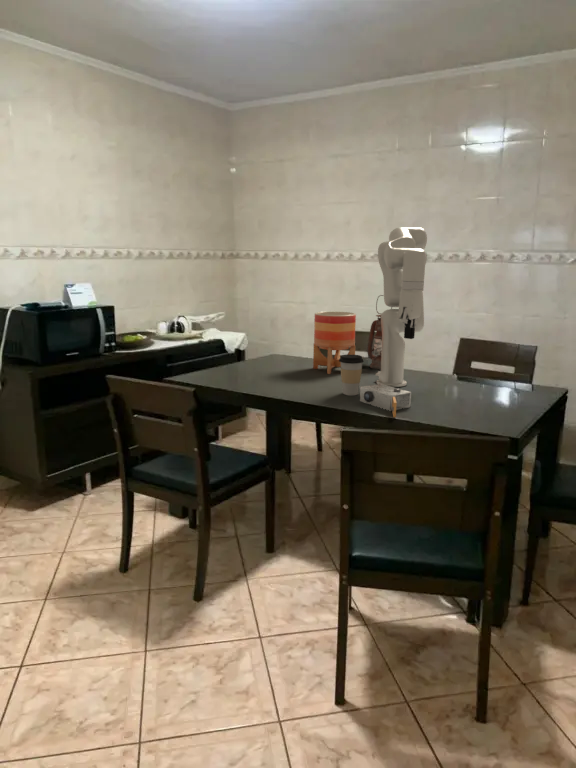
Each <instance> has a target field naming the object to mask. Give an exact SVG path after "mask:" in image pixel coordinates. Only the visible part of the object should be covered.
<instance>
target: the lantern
mask: <svg viewBox="0 0 576 768" xmlns="http://www.w3.org/2000/svg"><path fill="white" fill-rule="evenodd" d="M381 296H382V297H384V294H383V295H382V294H380V295H378V296H377V298H376V299H377V300H376V304H375V310H376V313H377V314H376V315H375V317H377V319H375V320H373V321H372V323H371V325H370V331H369V334H368V339H367V340H368V341H367V351H366V352H367V356H368V357H369V359H370V360H371V363H370V364H369V367H370V369H372V370H373V369H374V370H381V355H382V327H381V315H382V313H379V312H378V306H377V305H378V301H379V298H380V297H381ZM390 309H393V307H390ZM375 333H376V334H375ZM373 352H374V353H373Z"/></svg>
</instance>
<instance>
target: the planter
mask: <svg viewBox="0 0 576 768" xmlns="http://www.w3.org/2000/svg"><path fill="white" fill-rule="evenodd" d="M356 320H357V314H356V313H355V312H350V311H319V312H315V313H314V322H313V323H314V327H313V329H314V330H313V331H314V333H313V362H312V363H313V365H312V366H313V367H312V369H313V370H318V369H319V366H325V367H327V370H326V372H327V374H328V375H331V374H332V369H333V368H335V367H336V368H341V362H340V361H339V360H340V358H341V351H345V350H349V351H348V353H347V354H346V355H349V354H351V355H356V345H355V343H356V326H357V325H356ZM321 349H322V350H326V351H327V356H325V354H323V353H322V351H321ZM333 351H335V353H334V357H333Z"/></svg>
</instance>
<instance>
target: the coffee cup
mask: <svg viewBox="0 0 576 768" xmlns="http://www.w3.org/2000/svg"><path fill="white" fill-rule="evenodd" d="M339 361H340V362H341V367H340V376H341V377H340V379H341V384H342V385H341V386H342V387H341V388H342V394H343V395H346V396H357V395H359V392H360V390H359V389H360V383H361V377H362V372H363V371H362V370H363V363H364V359H363V356H362V355H360V354H355V355H351V354H349V355H347V354H341V355H340V360H339Z"/></svg>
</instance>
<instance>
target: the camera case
mask: <svg viewBox="0 0 576 768" xmlns="http://www.w3.org/2000/svg"><path fill="white" fill-rule="evenodd" d="M359 389H360V390H359V402H361V403H364V404H367V405H370V404H371V405H370V406H374V407H376V406H377V407H376V408H379V407H380V409H382V408H383V409H382V410H385V409H386V411H388V410H389V411H388V412H391V411H392V396H395V399H396V402H397V405H396V411H397V410H403V409H407V408H411V405H412V404H411V403H412V392H411V391H408V390H405V389H401V388H399V387H390V386H387V385H383V384H377V383H376V384H369V385H363V386H359ZM402 408H403V409H402Z"/></svg>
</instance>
